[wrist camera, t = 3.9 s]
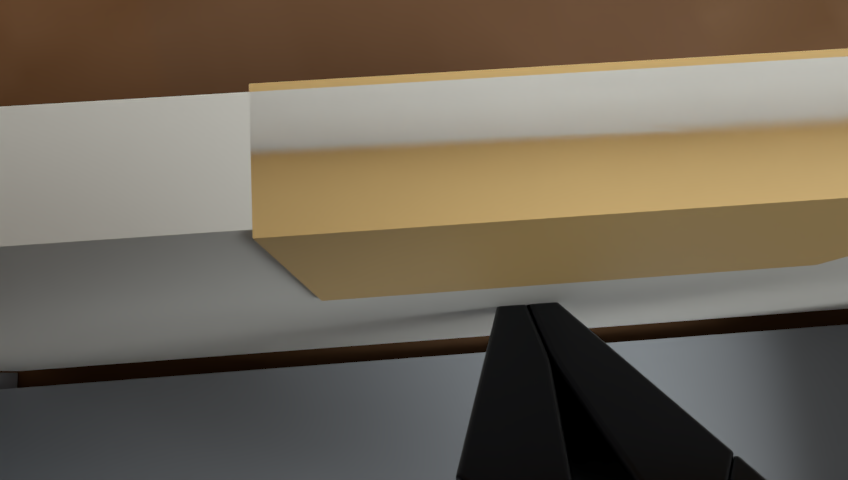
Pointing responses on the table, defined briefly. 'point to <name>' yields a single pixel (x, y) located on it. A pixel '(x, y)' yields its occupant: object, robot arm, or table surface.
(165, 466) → the carton
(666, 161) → the flap
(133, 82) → the table surface
